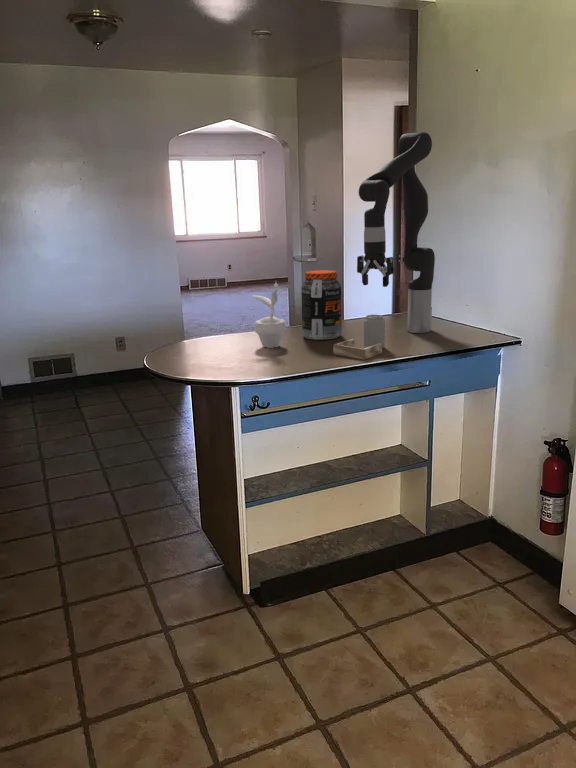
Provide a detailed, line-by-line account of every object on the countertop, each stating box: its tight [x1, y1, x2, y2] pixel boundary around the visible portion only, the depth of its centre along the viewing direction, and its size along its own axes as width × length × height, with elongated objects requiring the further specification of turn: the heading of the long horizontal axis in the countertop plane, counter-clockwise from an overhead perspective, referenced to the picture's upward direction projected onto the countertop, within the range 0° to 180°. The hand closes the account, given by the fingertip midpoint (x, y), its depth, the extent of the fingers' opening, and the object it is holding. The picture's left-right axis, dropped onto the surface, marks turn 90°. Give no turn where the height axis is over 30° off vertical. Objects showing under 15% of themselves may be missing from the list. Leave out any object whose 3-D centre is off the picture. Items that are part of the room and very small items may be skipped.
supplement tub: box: [301, 269, 342, 341], centre depth 250 cm, size 16×16×26 cm
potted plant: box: [251, 281, 287, 349], centre depth 237 cm, size 13×12×25 cm
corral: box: [332, 338, 383, 360], centre depth 225 cm, size 11×13×4 cm
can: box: [363, 314, 386, 349], centre depth 231 cm, size 8×8×12 cm
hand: (375, 285), depth 227 cm, fingers open, 8 cm apart
